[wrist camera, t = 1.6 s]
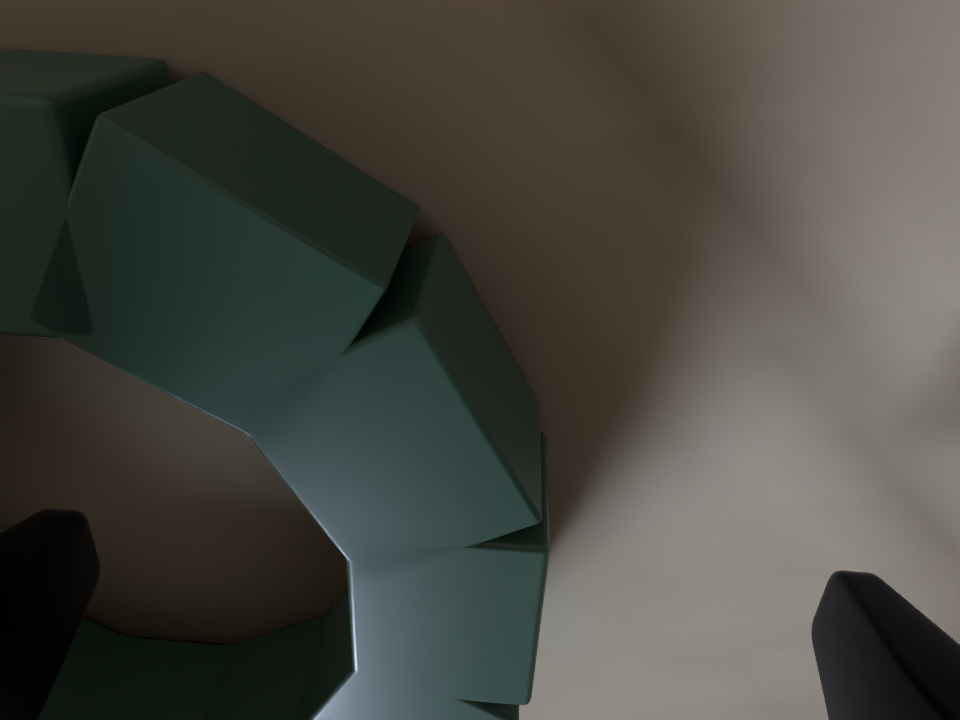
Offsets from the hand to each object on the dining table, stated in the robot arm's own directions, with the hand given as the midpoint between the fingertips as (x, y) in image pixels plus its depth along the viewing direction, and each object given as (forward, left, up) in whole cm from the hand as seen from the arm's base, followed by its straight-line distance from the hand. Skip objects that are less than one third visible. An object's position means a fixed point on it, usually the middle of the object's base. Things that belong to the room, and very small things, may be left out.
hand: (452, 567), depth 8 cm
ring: (0, +4, -1) cm, 4 cm away
